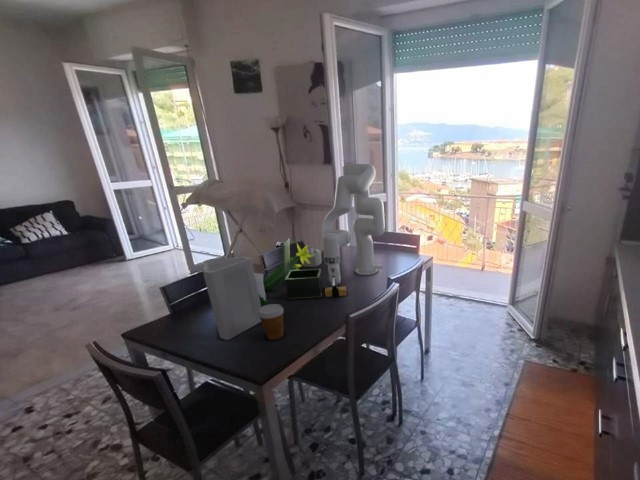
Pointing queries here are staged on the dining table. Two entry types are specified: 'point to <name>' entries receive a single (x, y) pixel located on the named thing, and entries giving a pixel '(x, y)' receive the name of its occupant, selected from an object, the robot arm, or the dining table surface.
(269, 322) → the disposable coffee cup
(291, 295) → the waste bin
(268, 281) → the daffodil flowers
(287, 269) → the bin lid
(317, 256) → the lumpy-topped squat cylinder
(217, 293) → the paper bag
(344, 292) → the yellow rectangular block
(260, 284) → the milk carton
